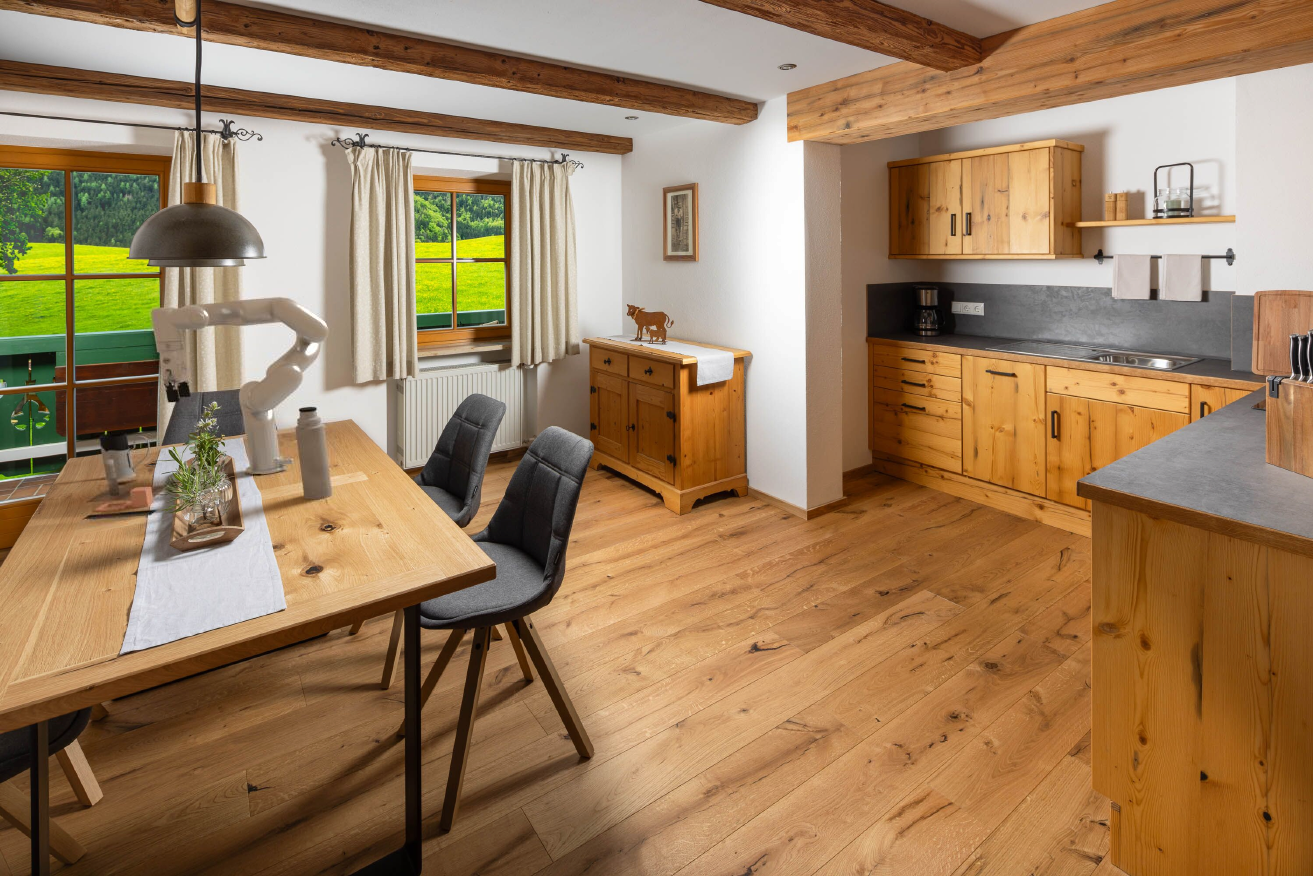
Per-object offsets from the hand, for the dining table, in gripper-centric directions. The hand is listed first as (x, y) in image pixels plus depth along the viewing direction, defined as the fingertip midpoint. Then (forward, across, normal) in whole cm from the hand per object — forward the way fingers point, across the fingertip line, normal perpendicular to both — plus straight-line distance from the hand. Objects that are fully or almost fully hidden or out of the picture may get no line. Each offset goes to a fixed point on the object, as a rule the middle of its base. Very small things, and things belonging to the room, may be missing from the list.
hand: (179, 399), depth 239 cm
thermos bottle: (+28, -27, -44) cm, 59 cm away
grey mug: (+28, +14, +24) cm, 40 cm away
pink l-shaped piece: (+28, -28, +9) cm, 40 cm away
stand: (+28, -14, +13) cm, 34 cm away
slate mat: (+28, -28, +9) cm, 41 cm away
